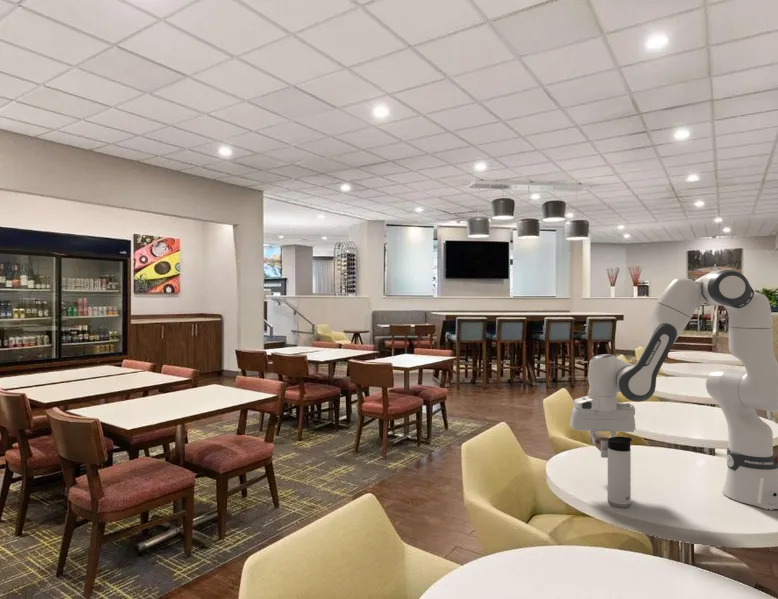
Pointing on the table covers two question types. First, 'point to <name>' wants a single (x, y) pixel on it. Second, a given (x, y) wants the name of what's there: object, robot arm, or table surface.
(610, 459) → the travel mug
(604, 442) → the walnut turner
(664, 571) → the table surface
